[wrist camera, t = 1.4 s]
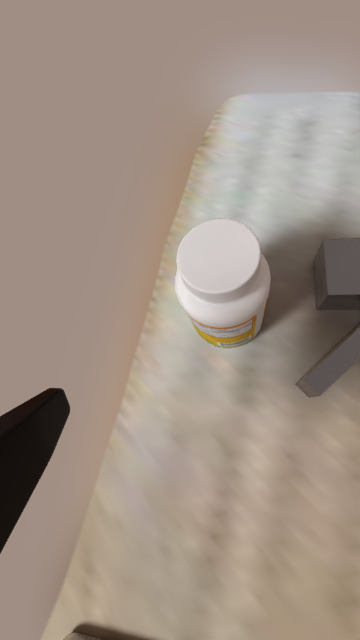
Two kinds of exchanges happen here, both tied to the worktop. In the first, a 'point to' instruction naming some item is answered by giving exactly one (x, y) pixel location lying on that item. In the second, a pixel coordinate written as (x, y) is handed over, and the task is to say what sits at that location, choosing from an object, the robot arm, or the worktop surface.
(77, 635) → the pin
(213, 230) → the supplement bottle
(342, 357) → the v block
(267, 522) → the worktop surface
